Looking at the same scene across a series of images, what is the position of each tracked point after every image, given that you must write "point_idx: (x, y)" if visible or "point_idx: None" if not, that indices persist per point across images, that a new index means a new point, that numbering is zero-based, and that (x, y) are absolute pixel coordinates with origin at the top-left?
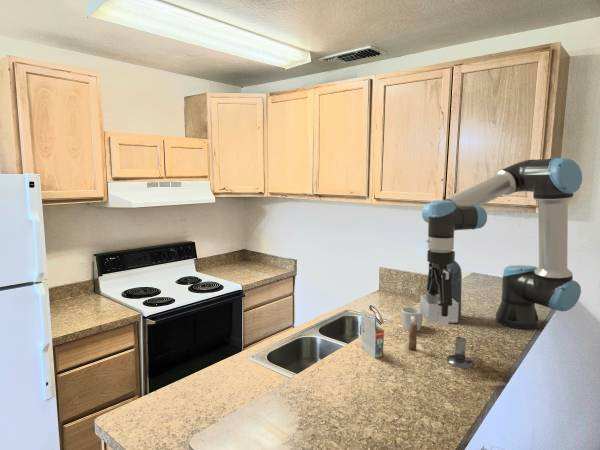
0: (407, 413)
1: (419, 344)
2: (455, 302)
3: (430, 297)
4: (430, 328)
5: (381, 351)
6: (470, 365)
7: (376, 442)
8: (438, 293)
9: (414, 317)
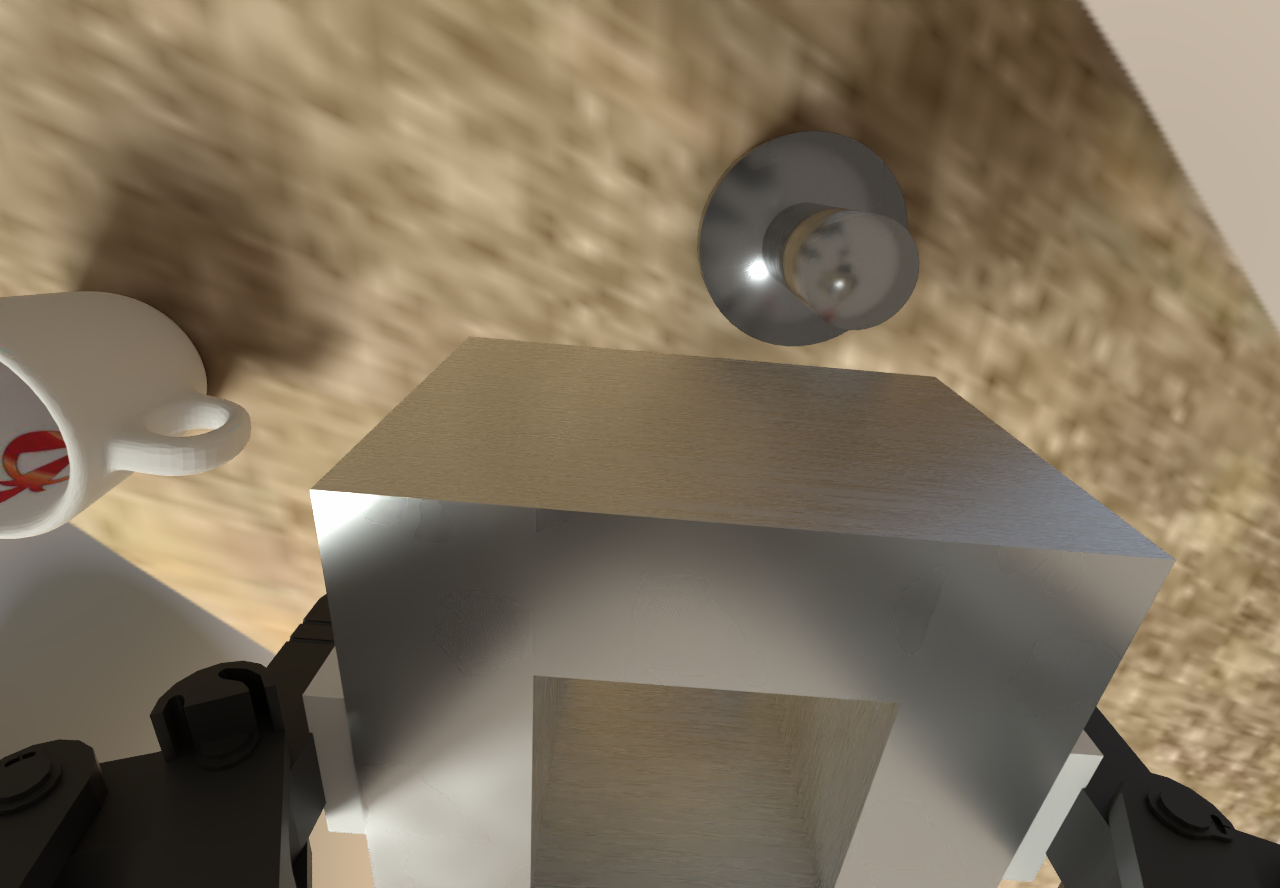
0: (1166, 711)
1: None
2: (1066, 598)
3: (530, 865)
4: (44, 164)
5: None
6: (900, 194)
7: (1268, 839)
8: (273, 691)
9: (135, 449)
